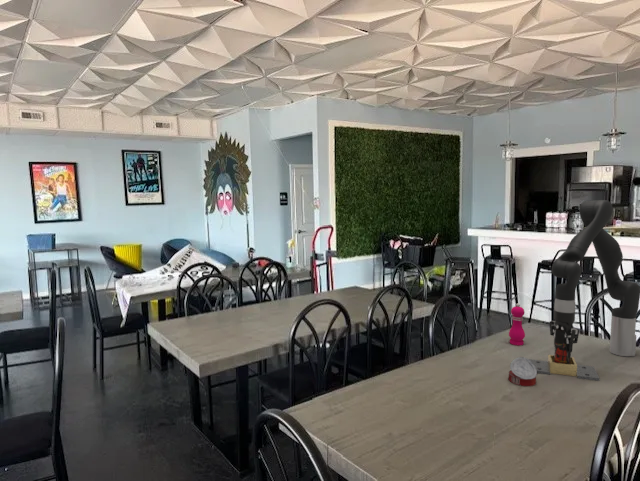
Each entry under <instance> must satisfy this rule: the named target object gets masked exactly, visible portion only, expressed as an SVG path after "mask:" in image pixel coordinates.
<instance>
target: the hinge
mask: <svg viewBox="0 0 640 481" xmlns="http://www.w3.org/2000/svg"><path fill="white" fill-rule="evenodd" d="M528 359H529V360H530V361H531V362H532V363H533V365H534V366H535V368H536V370H537V374H541V375H549V376H550V375H551V374H554V375H563V376H570V377H576V378H577V379H582V380H591V381H598V382H600V376H599V375H598V373H597V370H596V368H595V367H594V366H593V365H592V366H591V365H583V364H577V362H576V359H575V357H574V356H572V357H571V360H570V364H565V363H556V362H554V354H548V355H547V360H541V359H533V358H528Z"/></svg>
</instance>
